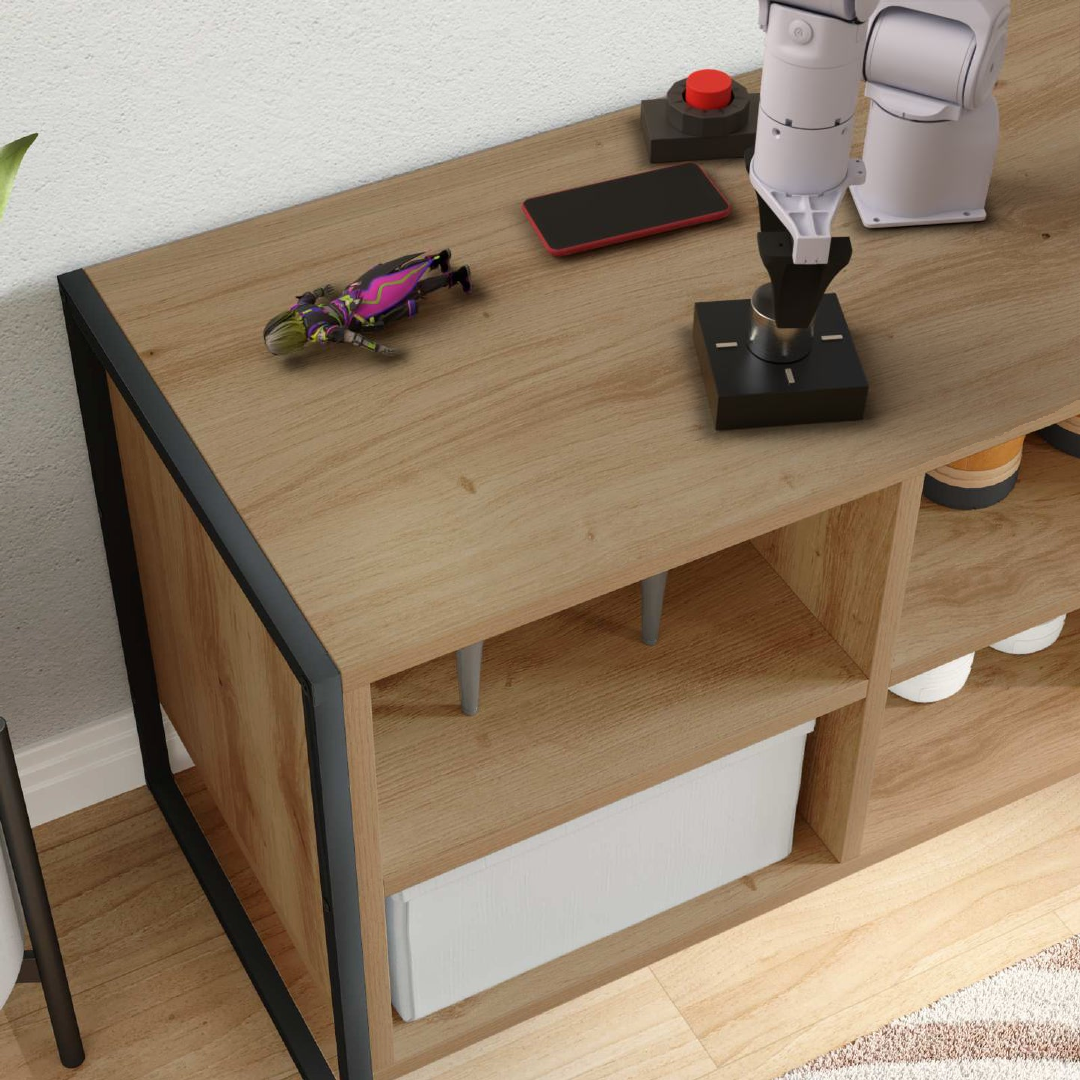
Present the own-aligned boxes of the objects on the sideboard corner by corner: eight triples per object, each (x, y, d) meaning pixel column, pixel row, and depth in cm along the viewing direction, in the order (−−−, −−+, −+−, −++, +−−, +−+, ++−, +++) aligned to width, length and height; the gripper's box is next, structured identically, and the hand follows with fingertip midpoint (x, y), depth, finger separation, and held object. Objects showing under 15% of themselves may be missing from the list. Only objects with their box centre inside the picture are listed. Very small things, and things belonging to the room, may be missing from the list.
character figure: (424, 256, 120) (236, 328, 113) (423, 213, 117) (230, 285, 110) (494, 317, 114) (301, 397, 108) (494, 275, 112) (296, 354, 105)
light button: (726, 86, 128) (727, 67, 127) (734, 110, 126) (735, 90, 124) (682, 89, 128) (683, 70, 127) (689, 113, 125) (690, 93, 124)
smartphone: (518, 200, 122) (695, 159, 125) (518, 209, 123) (695, 169, 126) (551, 253, 117) (734, 209, 121) (551, 263, 118) (733, 219, 121)
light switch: (758, 114, 132) (762, 70, 129) (772, 157, 127) (777, 113, 124) (639, 121, 131) (641, 78, 128) (650, 165, 127) (652, 121, 124)
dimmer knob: (743, 322, 108) (748, 277, 105) (808, 321, 108) (814, 276, 105) (749, 363, 105) (754, 318, 102) (815, 362, 105) (822, 317, 102)
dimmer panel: (830, 326, 112) (836, 290, 110) (863, 419, 106) (869, 383, 103) (692, 335, 112) (694, 300, 110) (715, 430, 105) (718, 394, 103)
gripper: (894, 172, 88) (862, 358, 98) (858, 40, 98) (832, 222, 108) (768, 173, 89) (749, 359, 98) (745, 42, 98) (729, 223, 108)
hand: (785, 288), depth 103 cm, fingers open, 7 cm apart
